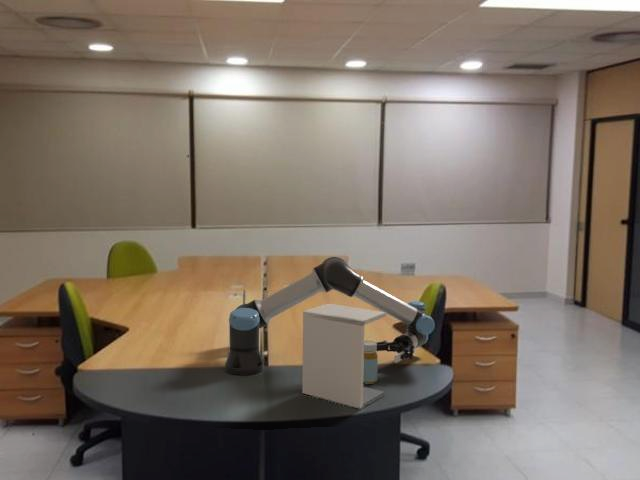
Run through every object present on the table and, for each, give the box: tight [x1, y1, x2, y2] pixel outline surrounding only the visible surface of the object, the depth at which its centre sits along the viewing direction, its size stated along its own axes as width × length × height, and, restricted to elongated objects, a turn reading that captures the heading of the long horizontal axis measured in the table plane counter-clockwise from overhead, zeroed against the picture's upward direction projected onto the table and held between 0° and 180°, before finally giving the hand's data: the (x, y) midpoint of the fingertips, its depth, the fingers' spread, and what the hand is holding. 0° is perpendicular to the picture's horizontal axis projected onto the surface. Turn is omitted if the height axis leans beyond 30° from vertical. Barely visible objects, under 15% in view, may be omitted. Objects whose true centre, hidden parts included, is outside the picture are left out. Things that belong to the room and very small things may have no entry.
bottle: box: [363, 340, 379, 384], centre depth 230 cm, size 7×7×15 cm
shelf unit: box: [301, 303, 387, 408], centre depth 215 cm, size 16×24×30 cm, turn 55°
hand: (379, 355), depth 236 cm, fingers open, 13 cm apart
